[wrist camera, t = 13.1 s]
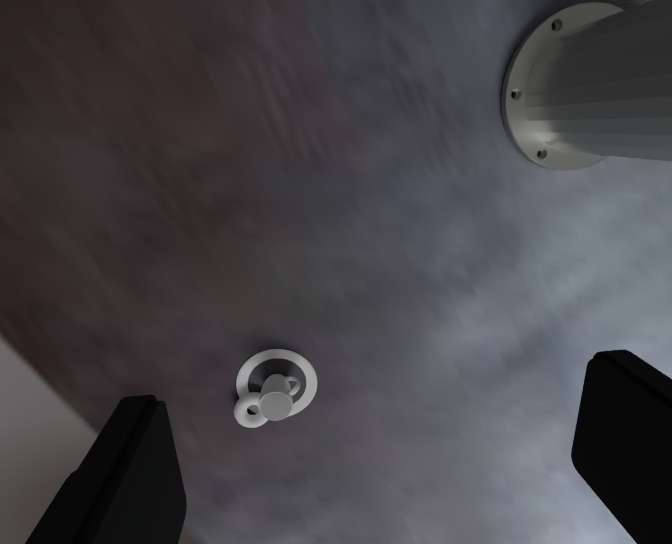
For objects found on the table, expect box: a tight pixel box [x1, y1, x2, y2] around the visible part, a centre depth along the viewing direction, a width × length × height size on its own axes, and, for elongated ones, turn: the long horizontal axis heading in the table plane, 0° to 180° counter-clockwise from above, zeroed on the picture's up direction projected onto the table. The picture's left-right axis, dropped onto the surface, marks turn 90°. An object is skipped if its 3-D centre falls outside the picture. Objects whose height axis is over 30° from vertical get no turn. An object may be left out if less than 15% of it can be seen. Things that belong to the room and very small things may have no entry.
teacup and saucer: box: [234, 349, 317, 428], centre depth 40 cm, size 9×8×4 cm
